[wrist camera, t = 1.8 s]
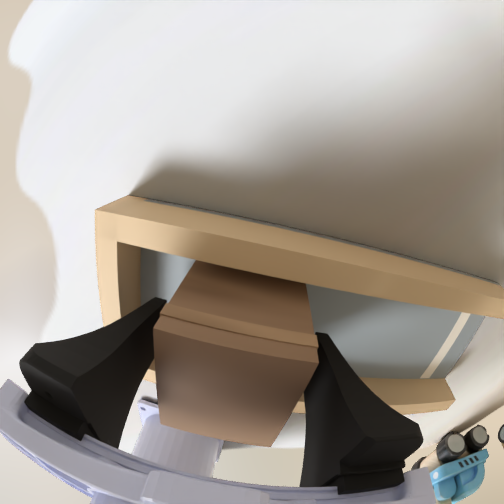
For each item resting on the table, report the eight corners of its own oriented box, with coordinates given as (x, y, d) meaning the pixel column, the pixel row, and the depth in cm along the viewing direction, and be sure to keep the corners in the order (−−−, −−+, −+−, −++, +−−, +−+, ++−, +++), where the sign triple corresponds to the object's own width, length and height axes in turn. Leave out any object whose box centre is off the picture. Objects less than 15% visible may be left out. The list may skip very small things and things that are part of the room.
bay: (434, 384, 17) (446, 409, 14) (130, 338, 17) (111, 367, 14) (496, 282, 13) (520, 304, 10) (127, 195, 13) (95, 209, 10)
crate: (274, 360, 15) (271, 447, 10) (190, 343, 15) (159, 424, 10) (304, 272, 13) (321, 362, 7) (200, 250, 13) (151, 326, 7)
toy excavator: (401, 441, 21) (424, 565, 5) (487, 419, 20) (518, 505, 4) (368, 470, 24) (379, 572, 8) (454, 451, 24) (475, 529, 8)
